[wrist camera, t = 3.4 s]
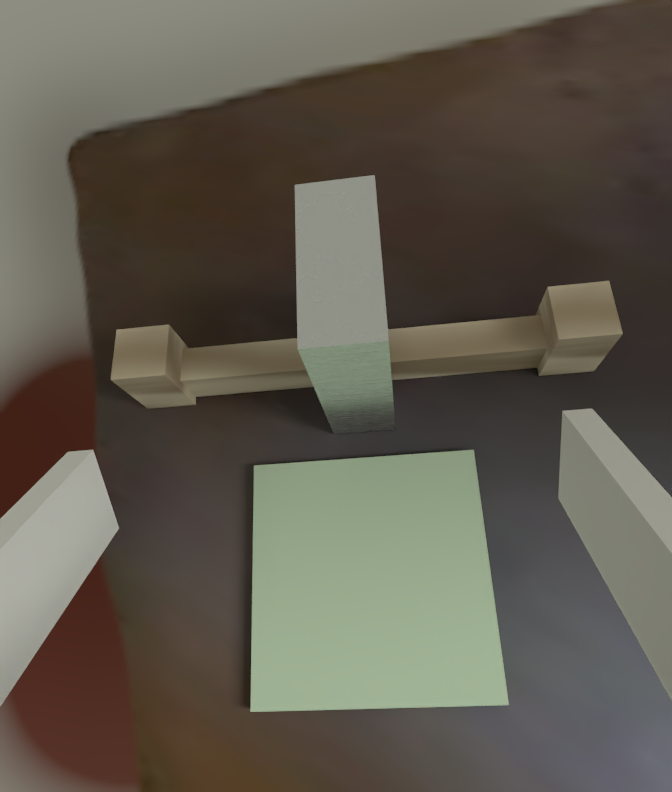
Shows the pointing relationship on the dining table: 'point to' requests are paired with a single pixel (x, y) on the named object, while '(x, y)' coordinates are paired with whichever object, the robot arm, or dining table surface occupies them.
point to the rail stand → (409, 349)
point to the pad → (372, 586)
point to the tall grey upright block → (343, 303)
